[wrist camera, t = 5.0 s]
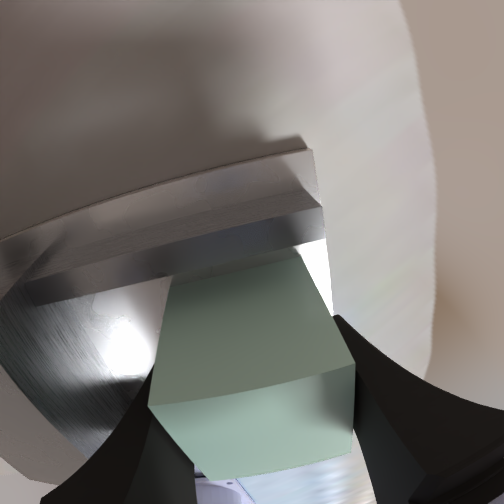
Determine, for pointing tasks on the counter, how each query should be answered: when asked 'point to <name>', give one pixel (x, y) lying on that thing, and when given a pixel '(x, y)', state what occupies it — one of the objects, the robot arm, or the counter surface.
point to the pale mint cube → (253, 373)
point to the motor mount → (131, 294)
